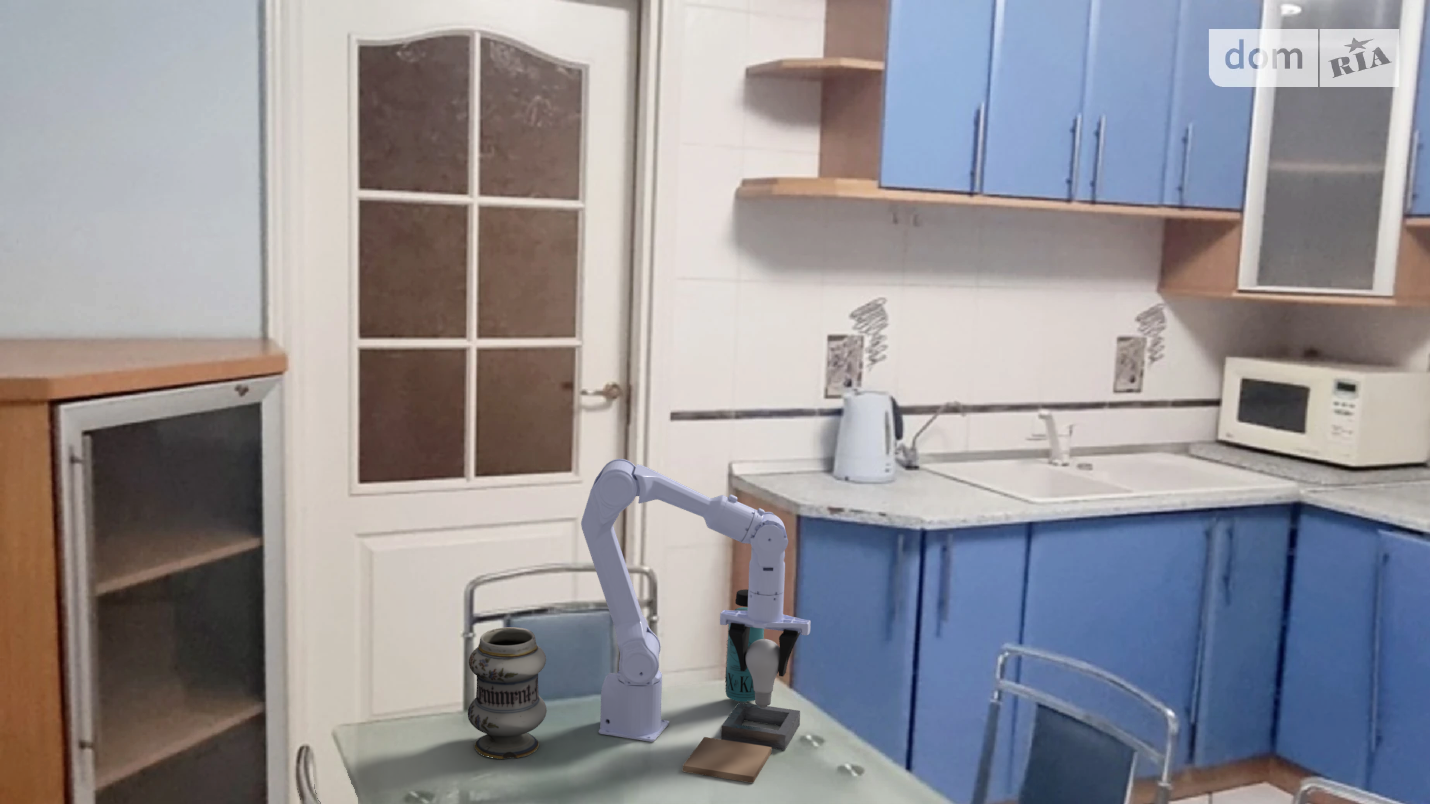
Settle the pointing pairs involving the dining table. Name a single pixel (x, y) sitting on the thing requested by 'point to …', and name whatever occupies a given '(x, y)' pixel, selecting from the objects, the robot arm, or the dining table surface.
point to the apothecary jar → (507, 692)
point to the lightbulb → (763, 668)
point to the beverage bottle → (736, 680)
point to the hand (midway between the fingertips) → (763, 671)
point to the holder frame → (757, 735)
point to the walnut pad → (727, 759)
